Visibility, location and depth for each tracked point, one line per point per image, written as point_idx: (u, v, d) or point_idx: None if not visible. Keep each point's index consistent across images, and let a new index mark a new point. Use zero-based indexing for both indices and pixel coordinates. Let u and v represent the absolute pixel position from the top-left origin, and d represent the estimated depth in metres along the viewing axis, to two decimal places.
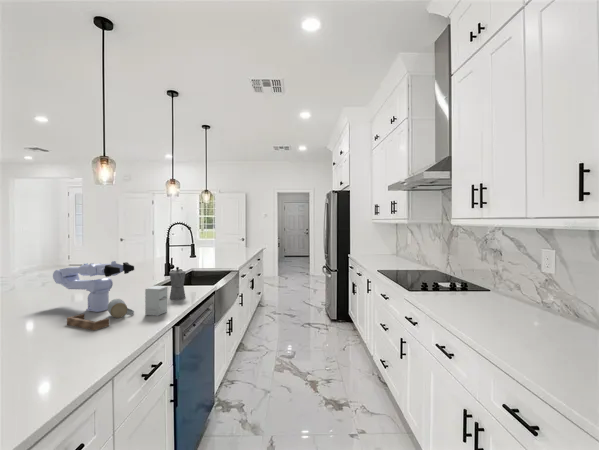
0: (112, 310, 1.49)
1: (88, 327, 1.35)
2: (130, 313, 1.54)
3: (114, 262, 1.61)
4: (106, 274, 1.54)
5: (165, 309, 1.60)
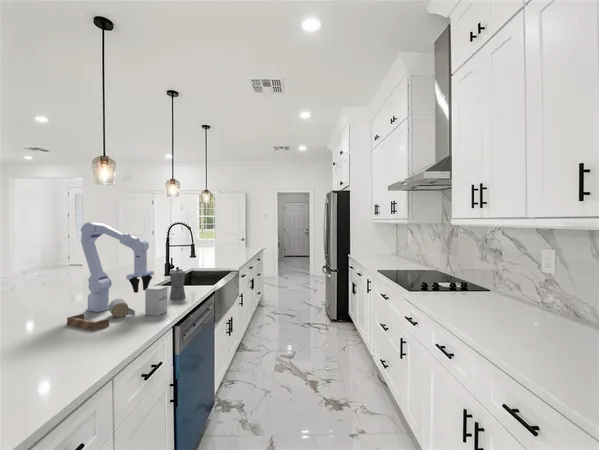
0: (113, 310, 1.49)
1: (88, 327, 1.35)
2: (131, 313, 1.55)
3: (146, 274, 1.63)
4: (129, 280, 1.61)
5: (165, 309, 1.60)
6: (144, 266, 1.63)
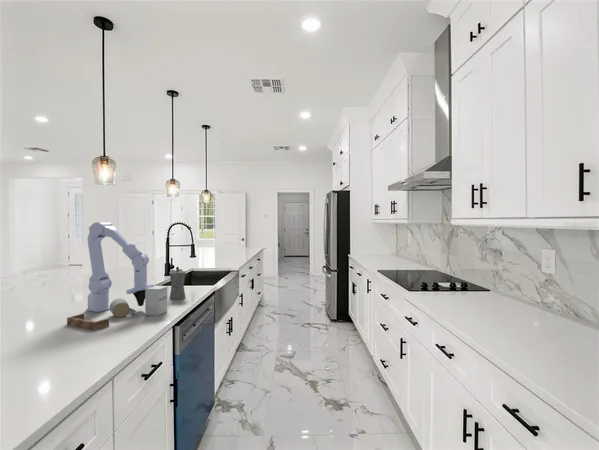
0: (114, 310, 1.49)
1: (88, 327, 1.35)
2: (132, 313, 1.55)
3: None
4: (134, 293, 1.63)
5: (165, 309, 1.60)
6: (144, 280, 1.63)
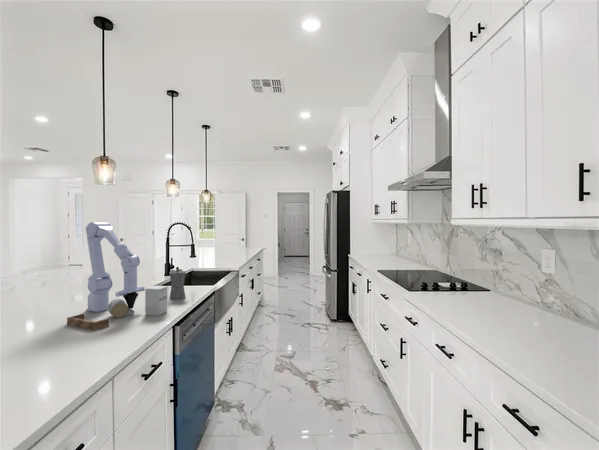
0: (113, 310, 1.48)
1: (88, 327, 1.35)
2: (130, 313, 1.54)
3: None
4: (124, 296, 1.58)
5: (165, 309, 1.60)
6: (134, 282, 1.58)
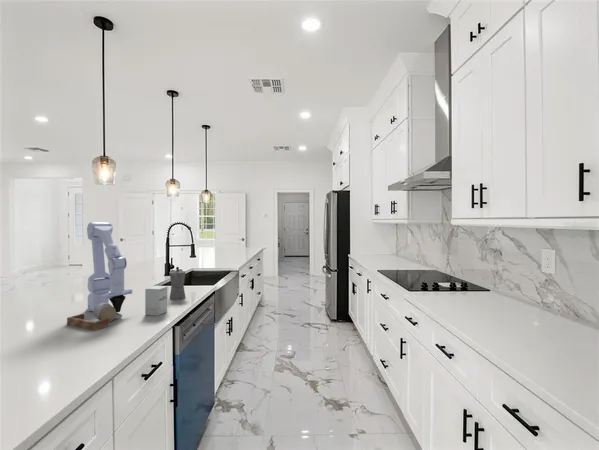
0: (100, 314, 1.42)
1: (88, 327, 1.35)
2: (118, 317, 1.48)
3: (123, 294, 1.52)
4: (110, 299, 1.52)
5: (165, 309, 1.60)
6: (121, 285, 1.52)
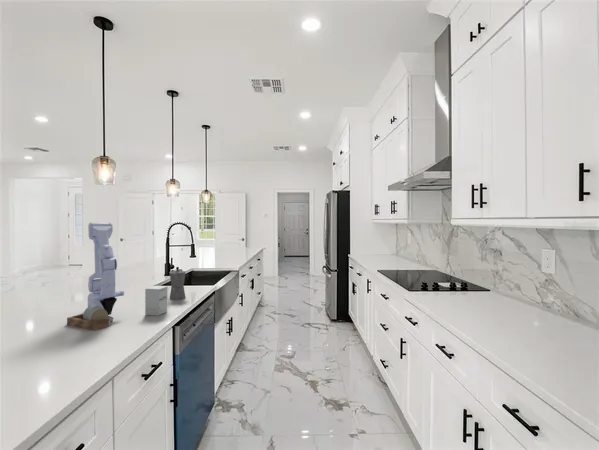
0: (93, 317, 1.38)
1: (88, 327, 1.35)
2: (110, 320, 1.44)
3: (114, 296, 1.48)
4: (100, 301, 1.48)
5: (165, 309, 1.60)
6: (112, 287, 1.48)
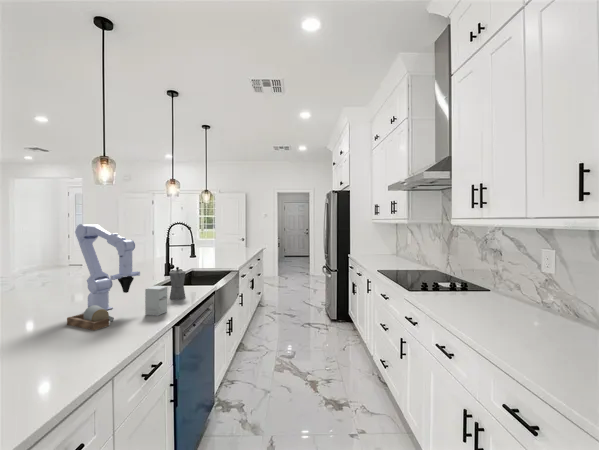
0: (93, 317, 1.38)
1: (88, 327, 1.35)
2: (111, 320, 1.44)
3: None
4: (119, 280, 1.59)
5: (165, 309, 1.60)
6: (129, 266, 1.59)
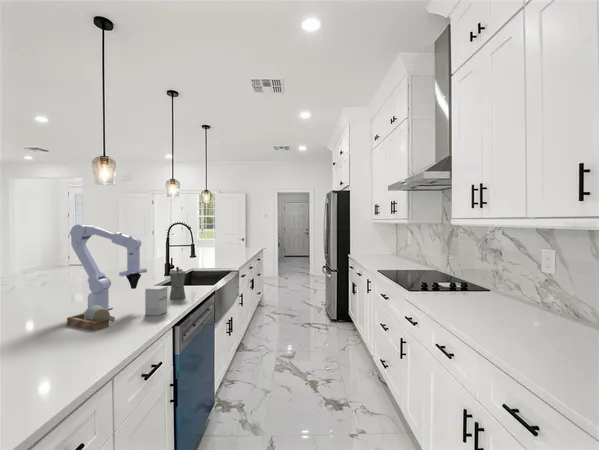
0: (94, 317, 1.38)
1: (88, 327, 1.35)
2: (112, 319, 1.45)
3: (139, 272, 1.66)
4: (127, 276, 1.65)
5: (165, 309, 1.60)
6: (137, 263, 1.65)
